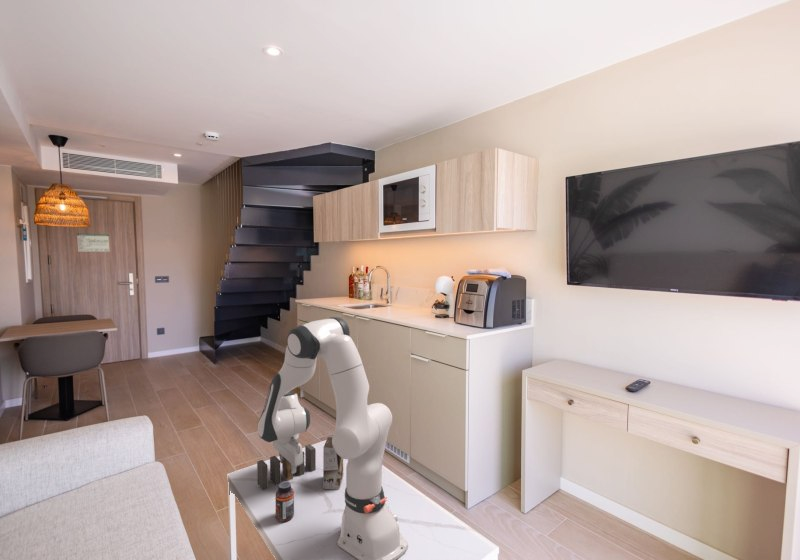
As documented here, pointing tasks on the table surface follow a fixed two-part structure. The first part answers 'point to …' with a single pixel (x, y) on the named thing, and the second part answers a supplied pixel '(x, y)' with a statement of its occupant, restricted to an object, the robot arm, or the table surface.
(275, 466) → the domino
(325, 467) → the coffee box
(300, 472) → the domino
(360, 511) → the robot arm
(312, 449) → the domino
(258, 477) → the domino
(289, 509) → the supplement bottle
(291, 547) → the table surface
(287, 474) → the domino
